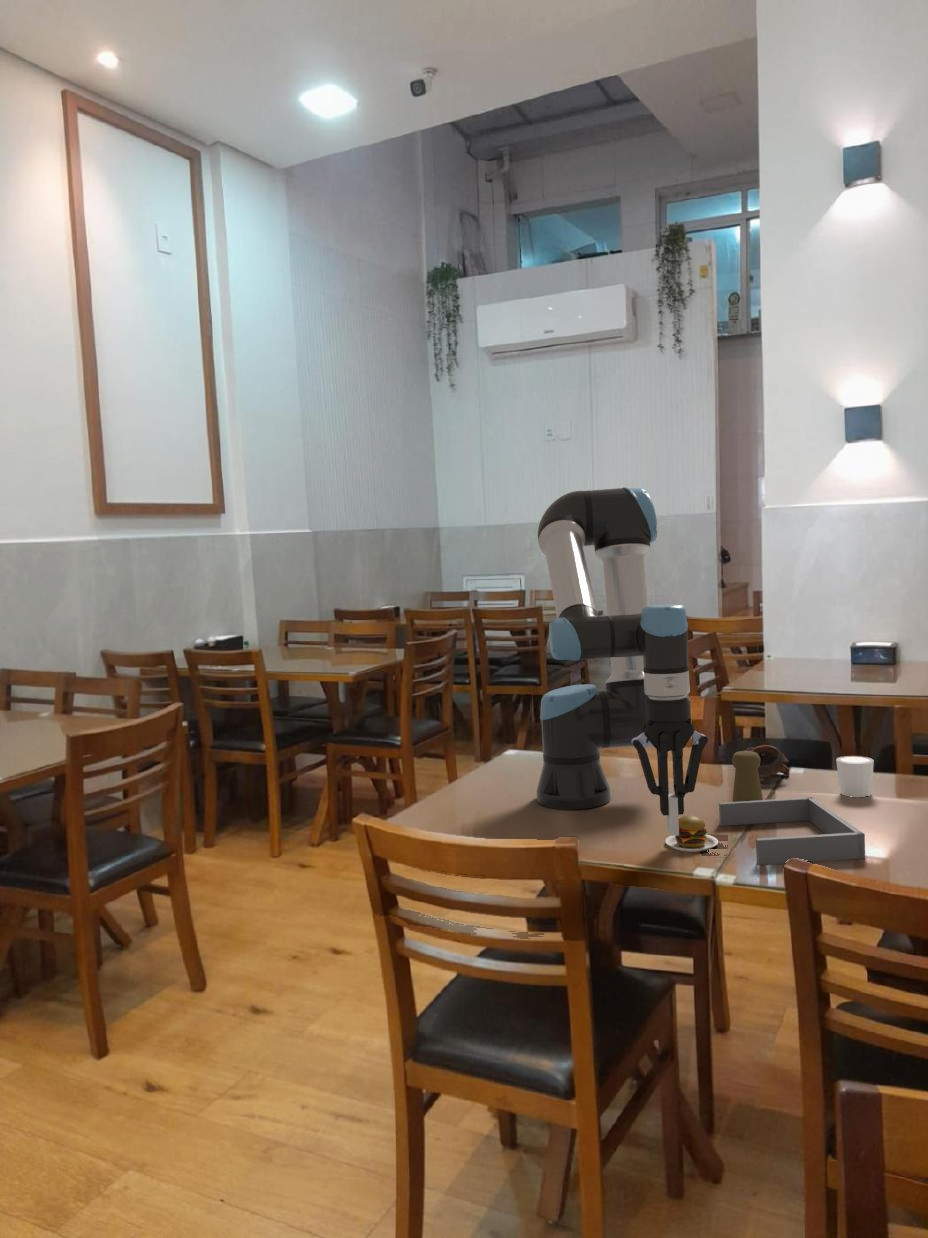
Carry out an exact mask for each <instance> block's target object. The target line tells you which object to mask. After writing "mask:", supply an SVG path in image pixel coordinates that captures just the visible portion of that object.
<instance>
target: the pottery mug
mask: <svg viewBox="0 0 928 1238" xmlns="http://www.w3.org/2000/svg"><path fill="white" fill-rule="evenodd" d="M744 751H752V752H756V753H757V754H758V755H759V756H760V766H759V768H758V774H759V779H765V778H771V777H772V776H775V775H777V774H779V773H780V774H783V773H784V774H783V775H785V776H786V777H787V776H788V777H789V778H790V768H789V767H787V766H786V764H785V763H789V759H788V758H787V757H786V756H785V754H784V753H783V752H782V751H781V750H780V748H777V747H776V746H774V745H770V744H769V745H768V744H762V745H758V746H756V747H753V746H748V747H747V748H745V750H744ZM763 754H764V755H763ZM788 777H787V778H788Z"/></svg>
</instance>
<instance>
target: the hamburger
mask: <svg viewBox="0 0 928 1238" xmlns="http://www.w3.org/2000/svg"><path fill="white" fill-rule="evenodd" d="M678 820H679V835H677V836H670V835H669V836H667V837H666V838H665V840H664V842H665V844H666V845H667V846H669V847H670V848H672V849H674V850H675V851H676V850H677V851H681V852H687V853H698V852H699V853H700V855H701V857H702V856H719V855H720V854H718V853H717V855H716V854H715V853H716V852H715V853H713V852H712V854H714V855H712V854H711V853H710V854H709V853H708V852H709V849H728V850H729V844H728V845H727V847H726V845H725V847H724V846H723V844H722V843H721V844H720V843H718V841H728V842H729V834H716V833H714V834H713V833H712V834H711V833H708V831H707V830H708V828H707V827H706V822H704V820H703V819H702V818H700V817H698V816H697V815H692V814H688V815H683V816H680V817H678ZM707 850H708V852H707ZM724 856H727V854H726V855H724Z"/></svg>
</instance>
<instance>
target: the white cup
mask: <svg viewBox="0 0 928 1238" xmlns="http://www.w3.org/2000/svg"><path fill="white" fill-rule="evenodd" d="M835 761H836V768H837V770H836V771H837V775H838V784H839V791H840V792H839V793H840V795H841V794H842V795H841V796H843V795H846V796H852V797H865V796H869V795H872V789H873V776H874V764H875V763H874V761H875V760H874V759H872V758H871V757H868V756H861V755H846V756H840V757H839V756H838V757H837V758H836V760H835ZM846 796H845V797H846ZM852 797H851V798H852ZM869 797H870V796H869ZM865 798H866V797H865Z"/></svg>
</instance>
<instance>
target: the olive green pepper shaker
mask: <svg viewBox="0 0 928 1238" xmlns="http://www.w3.org/2000/svg"><path fill="white" fill-rule="evenodd" d="M731 763H732V766H733V768H734V769H735V770H734V771H735V772H734V778H733V779H734V782H733V791H732V800H731V802H740V801H757V800H764V798H763V792H762V787H761V780H760V778H759V774H758V768H759V766H760V756H759V755H758V754H757V753H756V752H752V751H745V750H741V751H736V752H734V754H733V755H732V758H731Z"/></svg>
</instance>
